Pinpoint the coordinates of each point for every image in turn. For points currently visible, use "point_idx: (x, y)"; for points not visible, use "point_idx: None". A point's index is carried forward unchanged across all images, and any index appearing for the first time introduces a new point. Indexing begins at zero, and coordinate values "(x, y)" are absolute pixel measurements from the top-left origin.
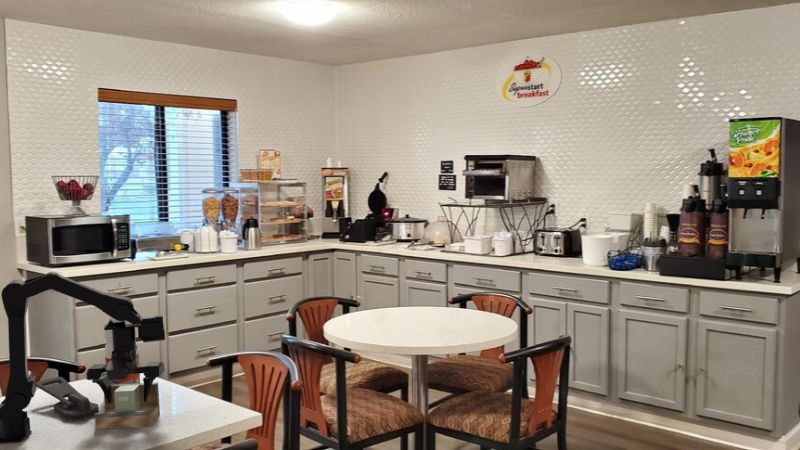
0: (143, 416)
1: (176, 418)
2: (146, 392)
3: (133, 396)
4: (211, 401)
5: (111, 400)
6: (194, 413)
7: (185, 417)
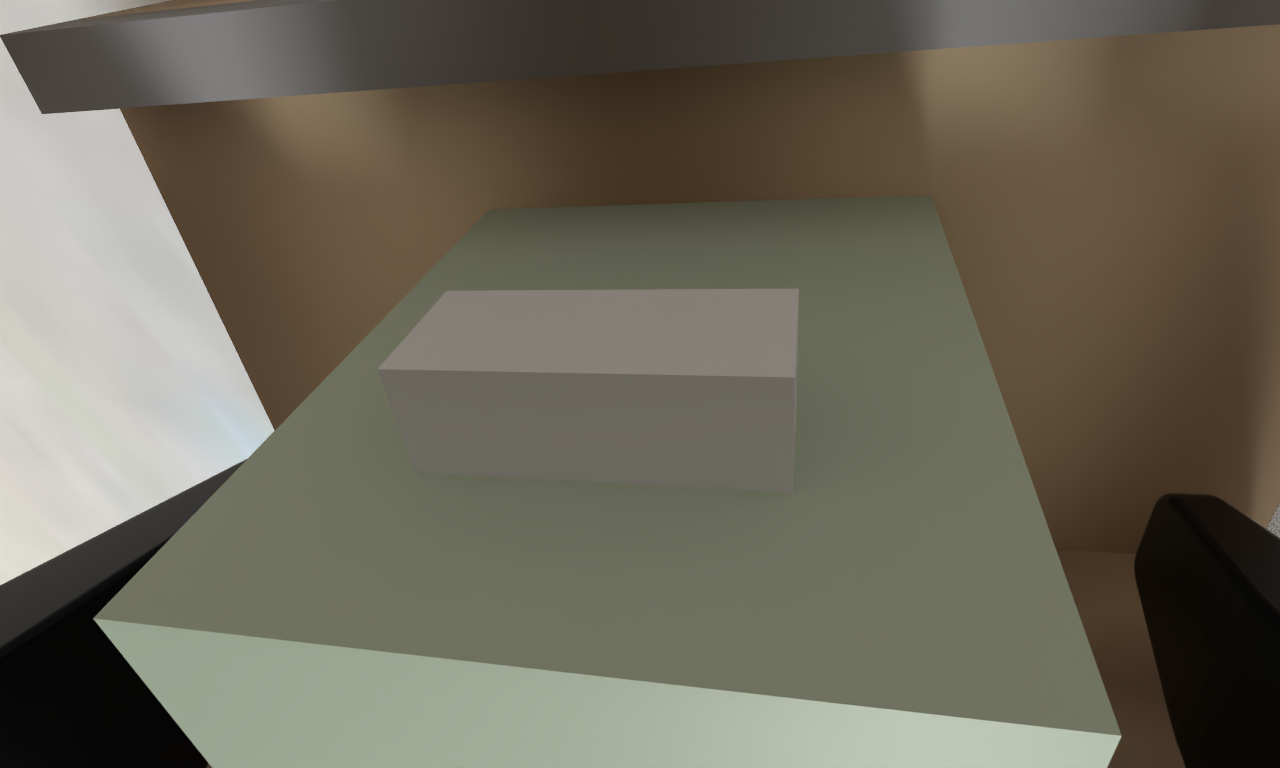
0: (210, 2)
1: (126, 305)
2: (4, 589)
3: (282, 442)
4: None
5: (1144, 607)
6: (57, 427)
7: (49, 323)
